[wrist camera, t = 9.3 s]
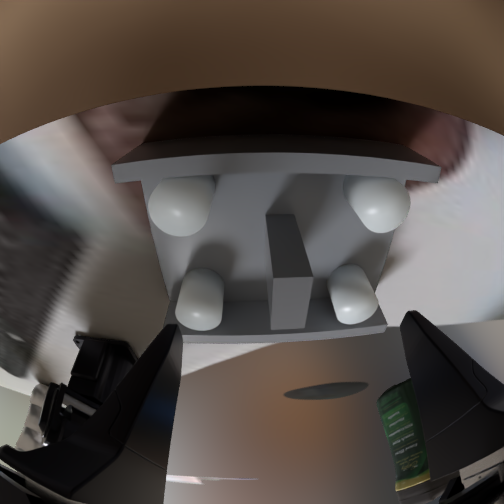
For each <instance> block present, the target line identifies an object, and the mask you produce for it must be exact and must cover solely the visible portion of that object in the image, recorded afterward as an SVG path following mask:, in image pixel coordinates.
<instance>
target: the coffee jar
mask: <svg viewBox="0 0 504 504" xmlns="http://www.w3.org/2000/svg"><path fill="white" fill-rule="evenodd" d="M377 407H378V410H379V414H380V417H381V421H382V424H383V426H384V429H385V432H386V436H387V439H388V442H389V446H390V450H391V453H392V457H393V461H394V465H395V472H396V491H397V492H396V493H397V496H398V499H399V503H400V504H425V503H428V502H430V501H433V500H434V499H436V498H437V497H439V496H440V495H442V494H443V492H444V491H445V489H446V487H447V485H448V483H449V481H450V480H451V479H452V478H454V477H456V476H458V475H460V472H459V470H458V471H456V472H454V473H451V474H449V475H446V476H444V477H441V478H439V479H436V480H433V481H431V480H430V473H429V465H428V458H427V451H426V445H425V439H424V433H423V428H422V423H421V418H420V413H419V408H418V404H417V400H416V395H415V391H414V387H413V383H412V380H411V378H410V379H407V380H406V381H404V382H402V383H400V384H398V385H394V386H392V387H390V388H389V389H387V390H386V391H385V392H384V393H383V394H382V395H381V397H380V398H379V399H378V400H377Z"/></svg>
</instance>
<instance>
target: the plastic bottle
mask: <svg viewBox="0 0 504 504" xmlns="http://www.w3.org/2000/svg"><path fill="white" fill-rule="evenodd" d="M47 390H48V386H46V385H44V384H38V385H36V386H35V388H34V389H33V391H32V394H31V399H30V406H29V410H28V415H27V419H26V422H25V426H24V427H23V430H22V433H21V435H20V437H19V439H18V441H17V443H16V446H15V449H16V450H18V451H29V450H33V449H37V448H40V447H43V446H44V445H42V443H41V442H42V437H41V433H42V432H41V430H40V428H39V425H38V424H39V419H40V414H41V410H42V406H43V402H44V398H45V395H46V393H47ZM62 407H64V408H65V405H64V404H62ZM17 472H18V471H17ZM18 473H20V472H18ZM20 474H21V473H20ZM22 475H23V474H22Z"/></svg>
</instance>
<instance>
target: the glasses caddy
mask: <svg viewBox="0 0 504 504" xmlns="http://www.w3.org/2000/svg"><path fill="white" fill-rule="evenodd" d="M111 166H112V171H113V176H114V181H115V183H123V182H131V181H140V180H141V183H142V188H143V193H144V199H145V204H146V208H147V213H148V218H149V222H150V227H151V231H152V236H153V240H154V244H155V248H156V252H157V256H158V260H159V264H160V268H161V271H162V275H163V279H164V282H165V286H166V289H167V293H168V296H169V300H170V304H169V307H168V311H167V315H166V318H165V322H164V326H163V328H164V327H165V325H166V324H168V323H173V324H178V325H179V328H180V331H181V334H182V337H183V343H213V344H238V343H275V342H294V341H308V340H321V339H332V338H342V337H352V336H360V335H368V334H375V333H382V332H384V331H385V329H386V327H387V325H388V324H387V322H386V319H385V317H384V315H383V313H382V310H381V308H380V306H379V304H378V299H377V297H376V295H375V291H376V288H377V285H378V282H379V279H380V276H381V273H382V270H383V267H384V264H385V261H386V258H387V254H388V251H389V248H390V244H391V241H392V237H393V233H394V230H395V228H397V227H398V226H399V225H400V224H401V223H402V222H403V221H404V220H405V218H406V217H407V215H408V212H409V209H410V196H409V193H408V191H407V189H406V188H405V183H406V179H407V180H416V181H424V182H432V183H438V180H439V176H440V171H441V167H440V166H439V165H437V164H435V163H434V162H432V161H431V160H429V159H427V158H425V157H424V156H422V155H420V154H418V153H417V152H415V151H413V150H411V149H409V148H408V147H406V146H404V145H401V144H394V143H388V142H380V141H372V140H364V139H354V138H344V137H331V136H315V135H288V134H249V135H222V136H206V137H193V138H182V139H172V140H164V141H156V142H148V143H142V144H141V145H139V146H138V147H136V148H135V149H133V150H132V151H130V152H129V153H128V154H126V155H125V156H123V157H122V158H121V159H119V160H118V161H116V162H115V163H114V164H112V165H111Z"/></svg>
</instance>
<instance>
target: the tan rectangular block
mask: <svg viewBox="0 0 504 504" xmlns="http://www.w3.org/2000/svg"><path fill="white" fill-rule="evenodd" d="M228 86H296V87H312V88H323V89H333V90H342V91H349V92H356V93H363V94H369V95H374V96H380V97H385V98H390V99H394V100H399V101H403V102H408V103H412V104H416V105H419V106H423V107H427V108H430V109H434V110H437V111H440V112H444V113H447V114H450V115H453V116H456V117H459V118H462V119H464V120H467V121H470V122H472V123H475V124H478V125H480V126H483V127H485V128H487V129H490V130H492V131H495V132H497V133H499V134H501V135H503V136H504V0H0V144H1V143H3V142H5V141H7V140H9V139H12V138H14V137H16V136H18V135H20V134H23V133H25V132H27V131H30V130H32V129H34V128H37V127H39V126H42V125H45V124H47V123H50V122H53V121H55V120H58V119H61V118H64V117H67V116H70V115H73V114H76V113H79V112H83V111H86V110H89V109H93V108H97V107H100V106H104V105H108V104H112V103H116V102H120V101H125V100H129V99H134V98H139V97H144V96H150V95H155V94H161V93H168V92H175V91H183V90H191V89H201V88H213V87H228Z"/></svg>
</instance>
